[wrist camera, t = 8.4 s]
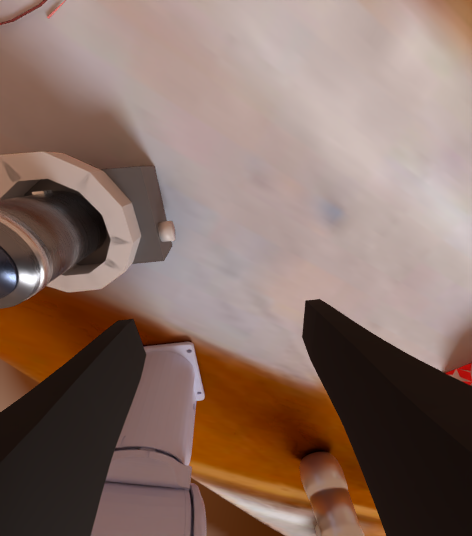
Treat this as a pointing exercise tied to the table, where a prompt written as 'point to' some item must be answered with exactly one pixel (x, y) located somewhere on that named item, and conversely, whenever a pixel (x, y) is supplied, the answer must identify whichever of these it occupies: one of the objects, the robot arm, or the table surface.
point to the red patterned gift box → (463, 374)
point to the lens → (44, 240)
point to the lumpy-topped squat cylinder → (317, 530)
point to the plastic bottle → (329, 495)
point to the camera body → (106, 202)
